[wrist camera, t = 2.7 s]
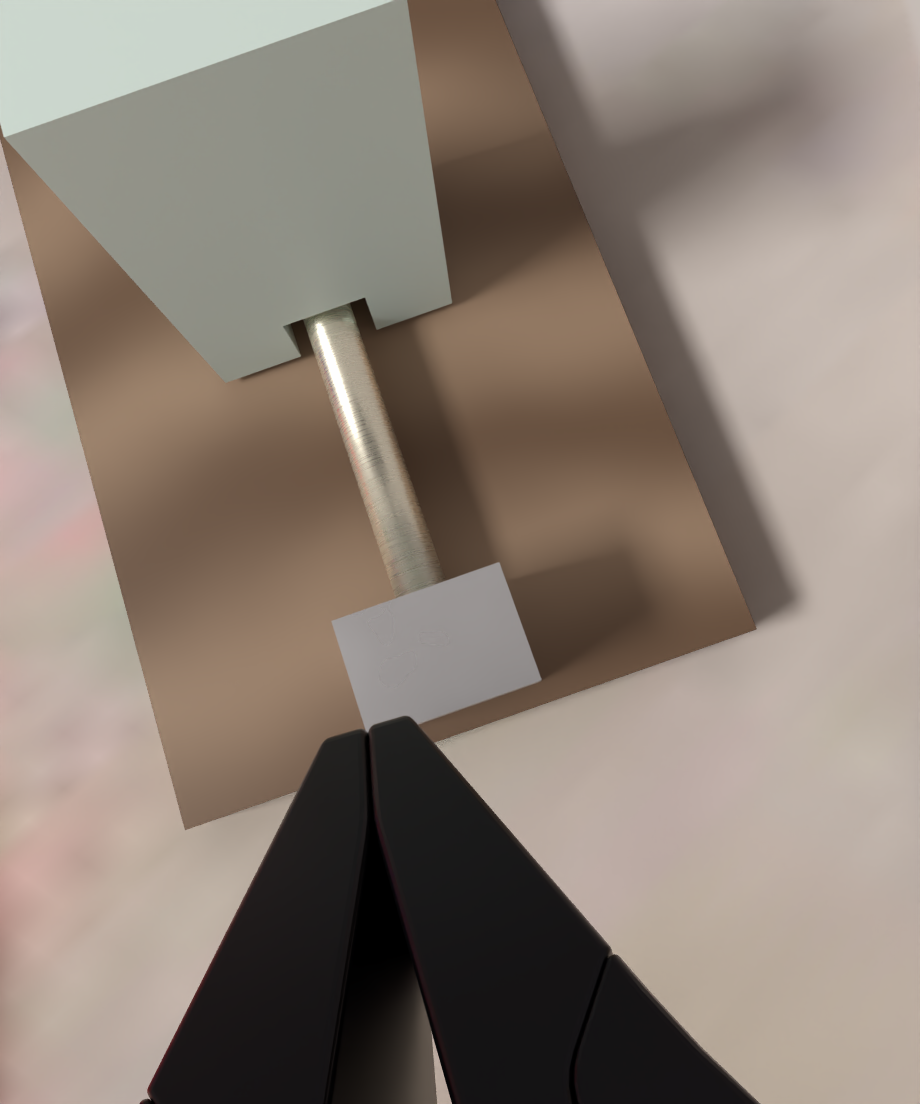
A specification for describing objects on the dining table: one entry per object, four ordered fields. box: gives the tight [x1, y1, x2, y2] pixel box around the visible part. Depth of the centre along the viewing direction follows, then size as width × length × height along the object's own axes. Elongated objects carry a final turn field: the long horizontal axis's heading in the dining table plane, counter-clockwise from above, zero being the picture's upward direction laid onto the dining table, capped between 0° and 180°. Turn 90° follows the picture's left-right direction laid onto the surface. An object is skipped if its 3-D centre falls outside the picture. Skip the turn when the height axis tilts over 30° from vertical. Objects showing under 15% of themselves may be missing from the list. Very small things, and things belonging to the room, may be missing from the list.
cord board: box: [0, 0, 756, 830], centre depth 22 cm, size 25×14×2 cm, turn 19°
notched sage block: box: [0, 0, 452, 383], centre depth 17 cm, size 4×6×9 cm, turn 109°
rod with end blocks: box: [303, 303, 542, 732], centre depth 19 cm, size 24×5×6 cm, turn 19°
